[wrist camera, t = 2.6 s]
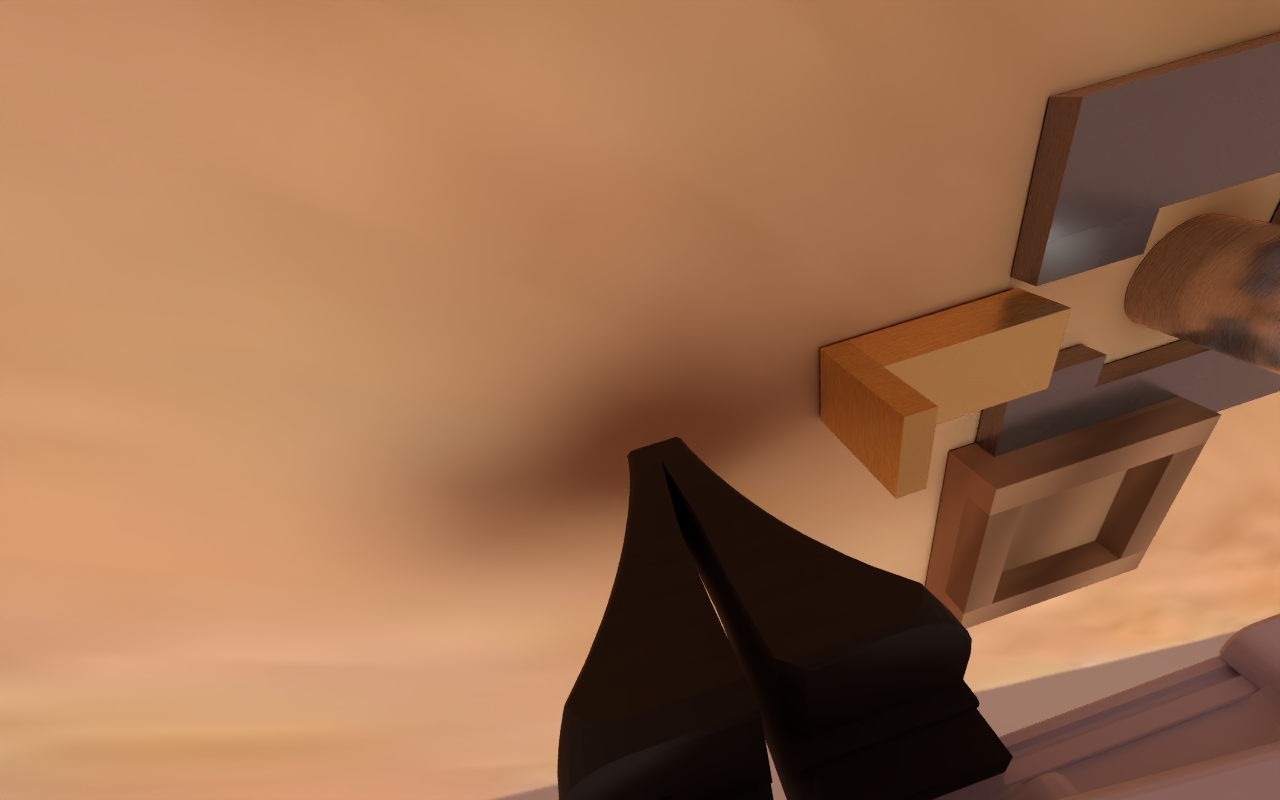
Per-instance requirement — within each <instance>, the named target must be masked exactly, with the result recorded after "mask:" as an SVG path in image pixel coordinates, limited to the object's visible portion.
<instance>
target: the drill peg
mask: <svg viewBox="0 0 1280 800" xmlns="http://www.w3.org/2000/svg"><path fill="white" fill-rule="evenodd" d="M1125 311H1126V314H1127V316H1128V317H1129V319H1130V320H1132V321H1133V322H1135V323H1137V324H1140V325H1143V326H1146V327H1149V328H1151V329H1154V330H1157V331H1160V332H1163V333H1165V334H1168V335H1171V336H1174V337H1177V338H1179V339H1182V340H1185V341H1188V342H1190V343H1193V344H1196V345H1199V346H1202V347H1204V348H1207V349H1210V350H1213V351H1216V352H1218V353H1221V354H1224V355H1227V356H1230V357H1232V358H1235V359H1238V360H1241V361H1243V362H1246V363H1249V364H1252V365H1255V366H1257V367H1260V368H1263V369H1266V370H1269V371H1271V372H1274V373H1277V374H1280V224H1275V223H1269V222H1263V221H1257V220H1250V219H1244V218H1238V217H1232V216H1226V215H1220V214H1206V215H1202V216H1199V217H1196V218H1193V219H1191V220H1189V221H1187V222H1185V223H1184V224H1182V225H1180V226H1179V227H1177V228H1176V229H1174V230H1173V231H1172V232H1170V233H1169V234H1168V235H1167V236H1165V237H1164V238H1163V239H1162V240H1161V241H1160V242H1159V243H1158V244H1157V245H1156V246H1155V247H1154V248H1153V249H1152V250H1151V251H1150V252H1149V254H1148V255H1147V256H1146V257H1145V258H1144V260H1143V261H1142V263H1141V264H1140V265H1139V267H1138V269H1137V270H1136V272H1135V274H1134V275H1133V277H1132V279H1131V282H1130V284H1129V286H1128V289H1127V293H1126V297H1125Z"/></svg>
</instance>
